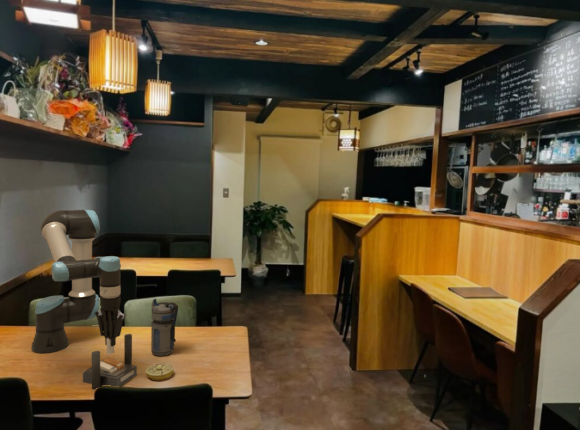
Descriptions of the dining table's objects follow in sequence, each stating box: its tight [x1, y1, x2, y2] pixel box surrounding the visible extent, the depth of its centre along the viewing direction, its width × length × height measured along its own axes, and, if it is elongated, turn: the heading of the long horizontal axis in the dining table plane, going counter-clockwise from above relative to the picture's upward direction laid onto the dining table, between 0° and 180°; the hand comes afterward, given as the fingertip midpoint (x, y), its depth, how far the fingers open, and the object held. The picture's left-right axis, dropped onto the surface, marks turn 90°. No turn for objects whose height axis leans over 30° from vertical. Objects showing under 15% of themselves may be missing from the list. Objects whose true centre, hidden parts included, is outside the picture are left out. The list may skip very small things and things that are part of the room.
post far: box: [123, 333, 133, 365], centre depth 179 cm, size 3×3×14 cm
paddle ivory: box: [100, 361, 117, 373], centre depth 166 cm, size 8×3×1 cm, turn 74°
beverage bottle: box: [150, 298, 179, 357], centre depth 194 cm, size 10×13×25 cm
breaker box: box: [82, 359, 138, 387], centre depth 168 cm, size 16×12×5 cm
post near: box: [91, 350, 101, 390], centre depth 160 cm, size 3×3×14 cm
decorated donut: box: [145, 363, 174, 381], centre depth 172 cm, size 10×11×4 cm
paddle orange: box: [103, 357, 124, 369], centre depth 170 cm, size 8×3×1 cm, turn 74°
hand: (110, 353), depth 168 cm, fingers closed
